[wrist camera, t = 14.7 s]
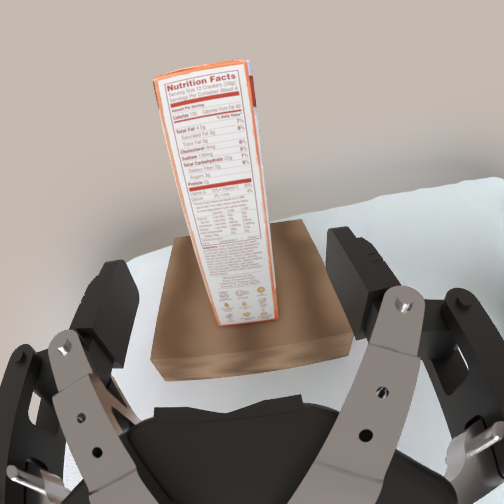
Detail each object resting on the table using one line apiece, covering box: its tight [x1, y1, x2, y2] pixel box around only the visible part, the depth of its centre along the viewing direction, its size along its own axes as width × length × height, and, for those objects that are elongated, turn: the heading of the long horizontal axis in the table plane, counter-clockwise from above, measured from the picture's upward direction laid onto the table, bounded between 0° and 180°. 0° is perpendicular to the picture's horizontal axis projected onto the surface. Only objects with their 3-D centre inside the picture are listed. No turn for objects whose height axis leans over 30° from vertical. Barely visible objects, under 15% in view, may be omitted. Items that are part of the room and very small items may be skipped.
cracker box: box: [153, 60, 279, 326], centre depth 24 cm, size 14×6×21 cm, turn 3°
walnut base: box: [150, 219, 354, 381], centre depth 31 cm, size 18×20×4 cm
